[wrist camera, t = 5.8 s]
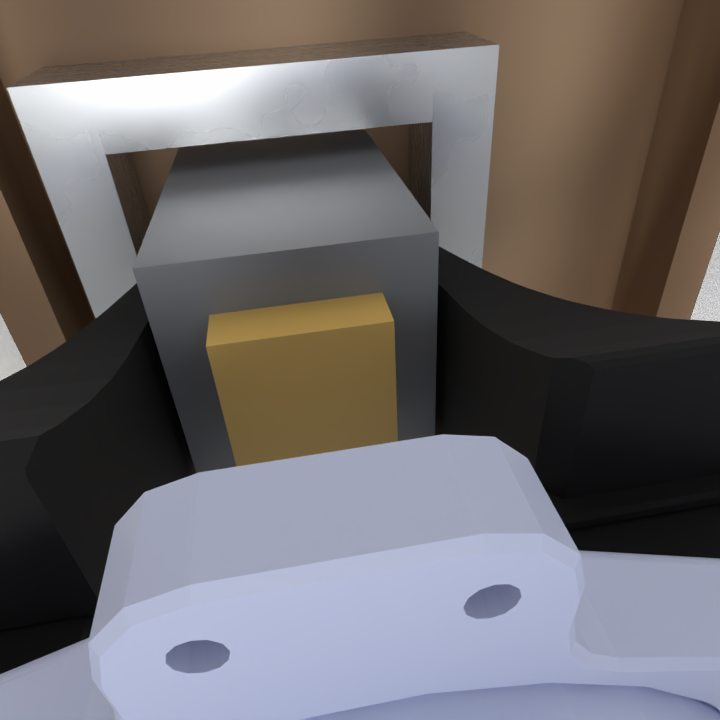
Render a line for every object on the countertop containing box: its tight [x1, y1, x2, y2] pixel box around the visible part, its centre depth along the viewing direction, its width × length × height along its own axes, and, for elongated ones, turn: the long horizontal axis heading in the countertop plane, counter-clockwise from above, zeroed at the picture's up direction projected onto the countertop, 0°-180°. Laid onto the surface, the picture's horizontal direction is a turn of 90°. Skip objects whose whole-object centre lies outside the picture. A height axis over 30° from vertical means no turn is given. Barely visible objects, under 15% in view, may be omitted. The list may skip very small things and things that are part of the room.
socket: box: [7, 31, 499, 318], centre depth 13 cm, size 8×8×2 cm
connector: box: [132, 129, 439, 473], centre depth 11 cm, size 4×4×7 cm
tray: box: [0, 0, 720, 366], centre depth 15 cm, size 16×18×2 cm
